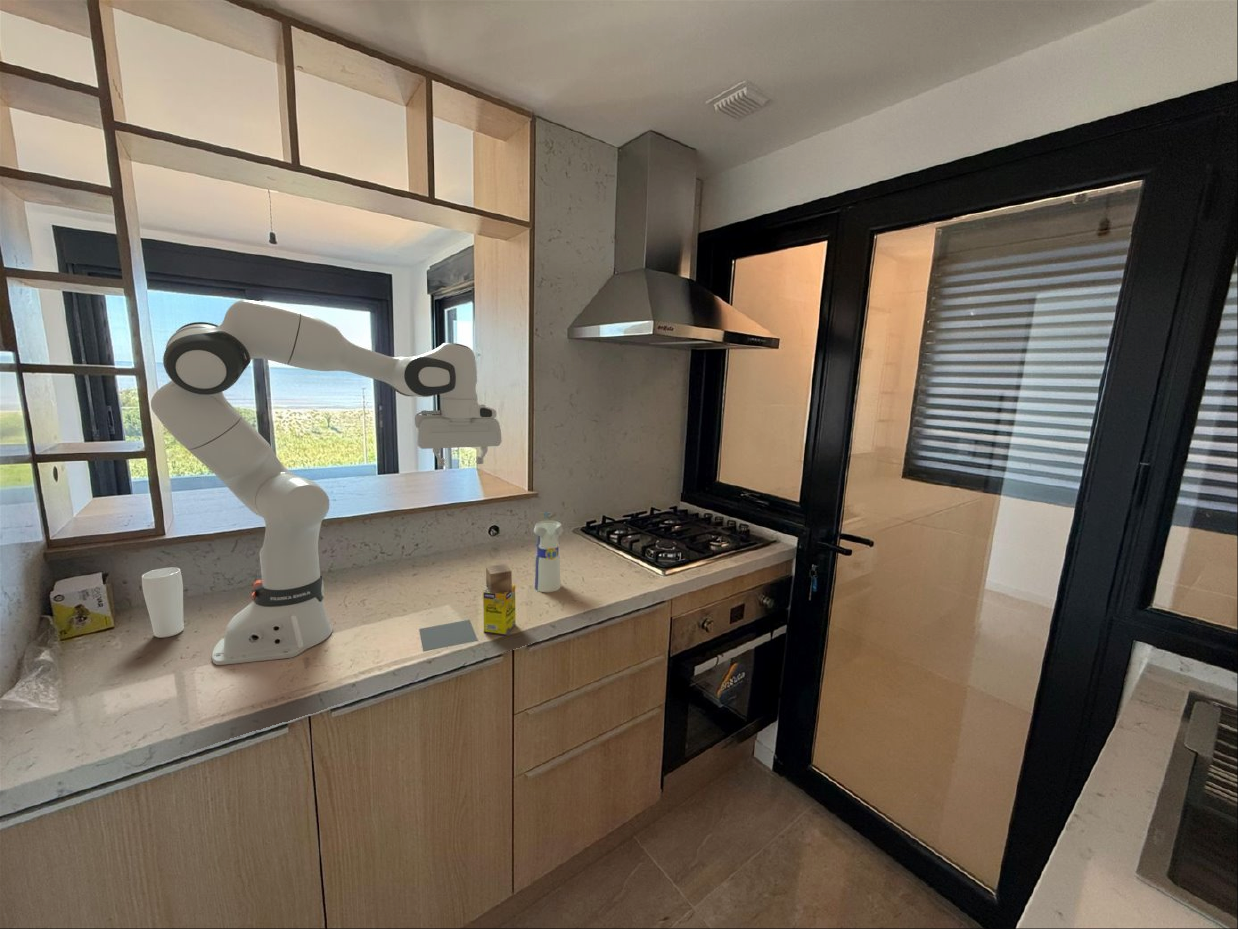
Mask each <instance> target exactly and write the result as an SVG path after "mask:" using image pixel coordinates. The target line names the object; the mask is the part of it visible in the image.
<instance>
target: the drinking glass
mask: <svg viewBox="0 0 1238 929" xmlns="http://www.w3.org/2000/svg"><path fill="white" fill-rule="evenodd" d="M141 587H142V592H143V596H144V601H145V605H146V608H147V611H148V615H149V619H150V623H151V626H152V633H153V635H154V637H156V638H161V639H162V638H163V639H164V638H169V637H173V636H176V635H178V634H180V633H182V631H183V632H184V630H185V622H184V584H183V577H182V572H181V568H179V567H173V566H172V567H163V568H157V569H153V570H150V571H148V572H145V573H143V574H142V575H141Z"/></svg>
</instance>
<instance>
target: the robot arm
mask: <svg viewBox="0 0 1238 929" xmlns="http://www.w3.org/2000/svg"><path fill="white" fill-rule="evenodd" d="M256 359H261V360H268V361H272V362H275V363H278V364H282V365H283V364H284V365H287V366H291V367H294V368H298V369H305V370H309V371H317V372H319V371H320V372H334V371H335V372H337V371H338V372H348V373H353V374H355V375H358V376H362V377H366V378H369V379H373V380H376V381H380V382H382V383H384V384H386V385H388V387H390V388H391V389H392V390H394V391H395V392H397V394H400V395H402V396H405V397H419V398H429V397H433V396H437V395H438V396H440V397H439V401H440V404H439V405H440V409H439V410H437V409H436V410H435V409H433V410H424V409H423V410H421V411H419V412H418V413H416V415H415V417H414V424H415V425H414V426H415V427H416V428H417V432H416V433H417V434H416V444H417V446H418V447H419V448H420V449H423V450H428V449H432V452H433V454H434V456H435V457H436V459H437V465H438V467H445V466H446V459H445V458H443V457H440V455H439V454H438V453H440V451H441V450H440V449H453V448H454V449H455V448H457V449H459V448H479V447H480V450H481V453H480V454H479V456H476V457H475V458H476V465H484V457H485V456H486V454H487V453H488V447H499V446H500V445H501V444H502V430H501V426H500V423H499V421H498V420H497V418H496V417H497V410H496V409H494V408H492V407H489V406H486V405H485V404H479V402H478V395H477V394H478V393H477V390H476V387H477V383H478V373H477V372H478V370H477V362H476V356H475V352H474V350H472V348H470V347H469V346H467V345H464V344H460V343H455V342H443V343H441V345H439V346H437V347H436V348H434V349H432V350H430V351H427V352H425V353H421V354H418V355H414V356H413V355H403V356H402V355H401V356H389V355H386V354H383V353H380V352H377V351H374V350H370V349H368V348H365V347H362V346H359V345H357V344H354V343H352V342H351V341H350V340H348V339H347V338H346V337H345V336H344V335H343V334H342V333H341V331H340V330H339V329H338V328H337V327H336V326H334V325H333V324H330V323H328V322H326V321H325V320H323V319H321V318H318V317H316V316H313V315H310V314H308V313H305V312H300V311H298V310H296V309H293V308H289V307H285V306H281V305H276V304H273V303H268V302H264V301H263V302H262V301H258V300H251V299H241V300H238V301H235V302H234V303H232V305H230V306H229V307H228V309H227V311H226V312H225V315H224V317H223V321H222V323H221V324H220V325H218V324H216V323H212V322H206V321H204V322H203V321H197V322H190V323H187V324H184V325H183V326H181V327H180V328H178V329H177V330H176V331H175V332H174V333H173V334H172V335H171V336H170V338H169V339H168V341H167V343H166V346H165V350H164V353H163V356H162V362H163V367H164V370H165V372H166V374H167V376H168V378H169V379H170V380H171V381H169V382H167V383H165V384H164V385H162V386H161V387H160V388H158V390H156V391H155V393H154V394H153V395H152V398H151V400H150V408H151V410H152V412H153V413H154V415H155V416H156V418H157V419H158V420H159V422H160V423H161V424H162V425H163V426H164V428H165V429H166V430H167V431H168V432H169V433H170V434H171V436H173V437H174V439H175V440H176V441H177V442H179V444H181V446H182V447H184V448H185V449H186V450H187V451H188V452H189V453H190V454H191V455H192V456H194V457H195V458H196V459H197V460H198V461H199V462H201V464H203V465H204V466H205V467H206V468H207V469H208V470H210V471H211V472H212V473H213V474H214V475H215V476H216V477H217V478H218V479H219V480H220V481H222V483H223V484H224V485H225V486H226V487H227V489H229V491H230V492H232V494H233V495H234V496H235V497H236V498H237V499H238V500H239V501H240V502H241V503H242V504H244V505H245V507H247V509H249V511H251V512H252V513H253V514H254V515H256V516H259V517H261V518H263V520H264V523H265V530H264V531H265V533H264V539H263V543H262V544H263V545H262V546H261V548H260V549H259V553H258V554H259V563H260V573H261V579H258V580H256V581H255V582H254V583H253V586H252V590H251V599H252V602H250V603H249V604H248V605H247V606H245V607H244V608H243V609H242V610H241V611H239V612H238V613H236V614H235V615H234V616H233V617H232V618H231V620H229V622H228V624H227V626H226V628H225V632H224V637H222V638H221V639H220V640H219V641H218V642H217V644H216V645H215V646H214V648H213V651H212V654H211V661H212V662H213V664H215V665H217V666H221V665H232V664H240V663H241V664H242V663H252V662H261V661H270V660H280V659H289V658H293V657H294V658H295V657H296V656H298V655H300V654H301V653H303V652H304V651H306V650H308V649H310V648H312V647H314V646H316V645H318V644H321V643H322V642H324V641H325V640H326V639H328V638H329V637H330V636H331V634H332V632H333V627H332V625H331V623H330V621H329V617H328V615H327V612H326V607H325V603H324V598H325V587H324V586H325V585H324V580H323V575H322V574H321V572H320V571H321V570H320V558H319V557H320V556H319V539H320V538H319V537H320V533H321V528H322V523H323V522H322V521H323V520H324V519H325V518H326V516H327V514H328V512H329V509H330V499H329V496H328V494H327V492H326V491H325V490H324V489H323V488H322V487H321V486H320V485H318V484H317V483H316V482H315V481H314V480H311V479H308V478H306V477H302V476H298V475H296V474H295V473H293V472H291V471H290V470H289V469H287V468H286V467H285V466H284V464H283V463H282V462H281V461H280V459H279V458H278V456H277V455H276V454H275V452H274V451H273V449H272V446H271V444H270V443H269V442H268V440H266V439H265V438H264V437H263V436H262V435H261V433H259V432H258V430H256V429H255V427H253V426H252V424H251V423H250V422H248V420H246V418H245V417H244V416H243V415H242V414H241V413H240V412H239V411H238V410H237V409H236V408H234V406H233V405H232V404H231V403H230V402H229V401H228V400H227V398H226V397H225V395H224V392H225V391H226V390H228V389H229V388H231V387H233V385H235V384H236V383H237V381H238V380H239V379H240V377H241V376H242V374H243V373H244V372H245V370H246V369H247V368H248V366H249V365H250V364H251V360H256Z"/></svg>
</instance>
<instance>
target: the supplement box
mask: <svg viewBox="0 0 1238 929" xmlns="http://www.w3.org/2000/svg"><path fill="white" fill-rule="evenodd" d="M482 597H483V600H482V602H483V634H488V635H495V636H503V637H507V635H508V634H509V633H510V632H511V630H513V628H514V627H515V626H516V585H515V584H512V591H507V592H501V593H495V594H490V592H489V590H488V588H487V589H486V590H484V591H483V592H482Z"/></svg>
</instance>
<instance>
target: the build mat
mask: <svg viewBox="0 0 1238 929" xmlns="http://www.w3.org/2000/svg"><path fill="white" fill-rule="evenodd" d="M418 632H419V636H420V641H421V648H422V651H423V652H427V651H433V650H438V649H443V648H447V647H452V646H458V645H462V644H467V643H472V642H477V641H479V639H478V637H477V635H476V632H475V630H474V627H473V624H472V622H471V620H470V619H466V620H459V621H456V622H455V621H454V622H450V623H444V624H439V625H438V624H437V625H433V626H428V627H423V628H418Z"/></svg>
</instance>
